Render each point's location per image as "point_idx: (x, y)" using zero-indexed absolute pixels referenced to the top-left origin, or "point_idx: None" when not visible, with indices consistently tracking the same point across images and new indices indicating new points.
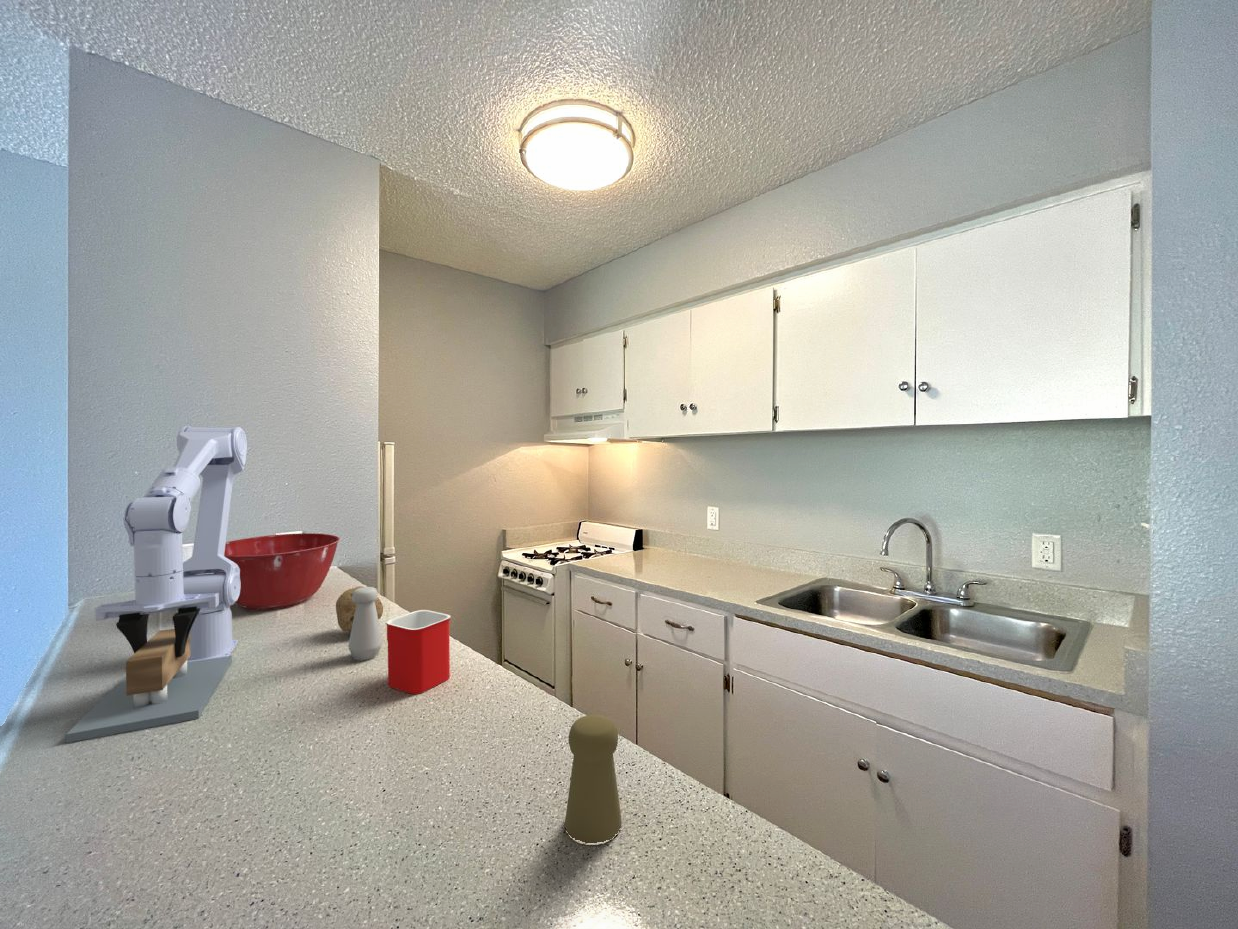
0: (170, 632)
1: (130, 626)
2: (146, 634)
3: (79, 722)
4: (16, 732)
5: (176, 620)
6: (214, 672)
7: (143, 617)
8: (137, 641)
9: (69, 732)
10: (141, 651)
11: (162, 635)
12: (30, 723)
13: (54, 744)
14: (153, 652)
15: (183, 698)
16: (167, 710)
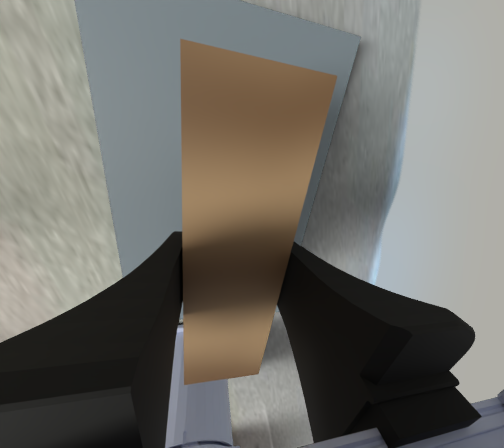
0: (227, 357)
1: (398, 313)
2: (288, 329)
3: (340, 101)
4: (396, 166)
5: (114, 343)
6: (136, 253)
7: (338, 408)
8: (311, 267)
9: (356, 44)
10: (286, 206)
11: (244, 341)
12: (381, 193)
13: (363, 57)
14: (239, 161)
15: (156, 114)
16: (173, 36)
